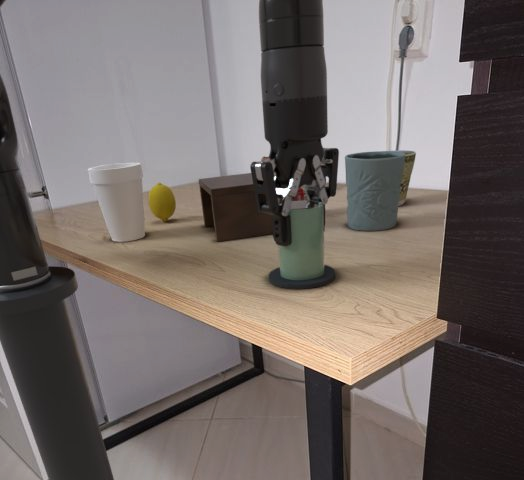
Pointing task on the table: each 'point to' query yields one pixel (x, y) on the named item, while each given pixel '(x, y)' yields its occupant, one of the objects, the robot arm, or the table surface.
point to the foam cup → (120, 199)
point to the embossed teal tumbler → (373, 189)
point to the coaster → (302, 284)
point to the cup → (304, 242)
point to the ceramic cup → (406, 174)
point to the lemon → (162, 202)
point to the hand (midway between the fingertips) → (300, 238)
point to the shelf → (233, 207)
